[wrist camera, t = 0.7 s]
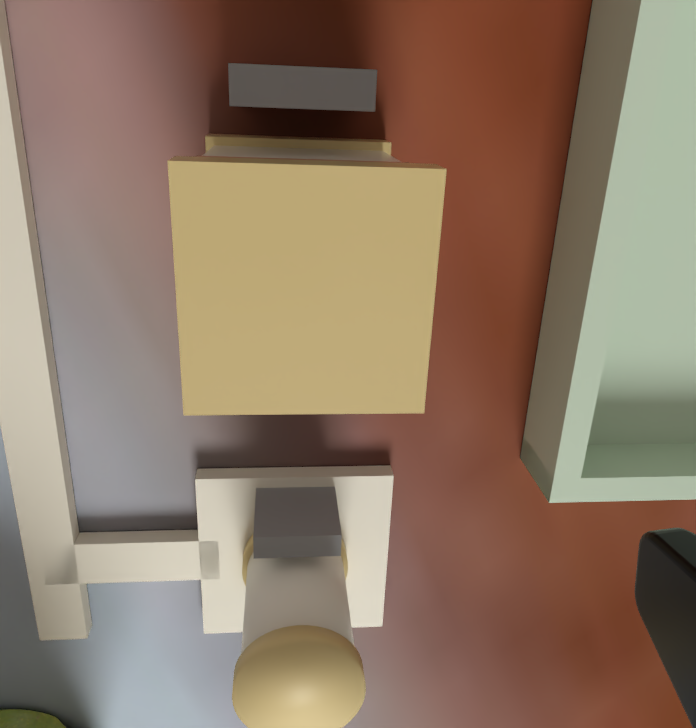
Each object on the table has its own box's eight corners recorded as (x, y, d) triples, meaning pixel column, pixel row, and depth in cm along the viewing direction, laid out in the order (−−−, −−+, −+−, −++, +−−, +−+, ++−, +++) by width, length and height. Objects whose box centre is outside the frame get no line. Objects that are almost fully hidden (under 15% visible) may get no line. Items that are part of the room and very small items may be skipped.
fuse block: (458, -467, 13) (585, -859, 8) (379, 613, 23) (409, 770, 18) (-161, -548, 12) (-529, -1079, 6) (45, 626, 22) (-30, 798, 17)
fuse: (385, 139, 17) (446, 168, 11) (376, 305, 19) (423, 413, 13) (209, 133, 17) (167, 160, 10) (215, 304, 18) (183, 415, 12)
